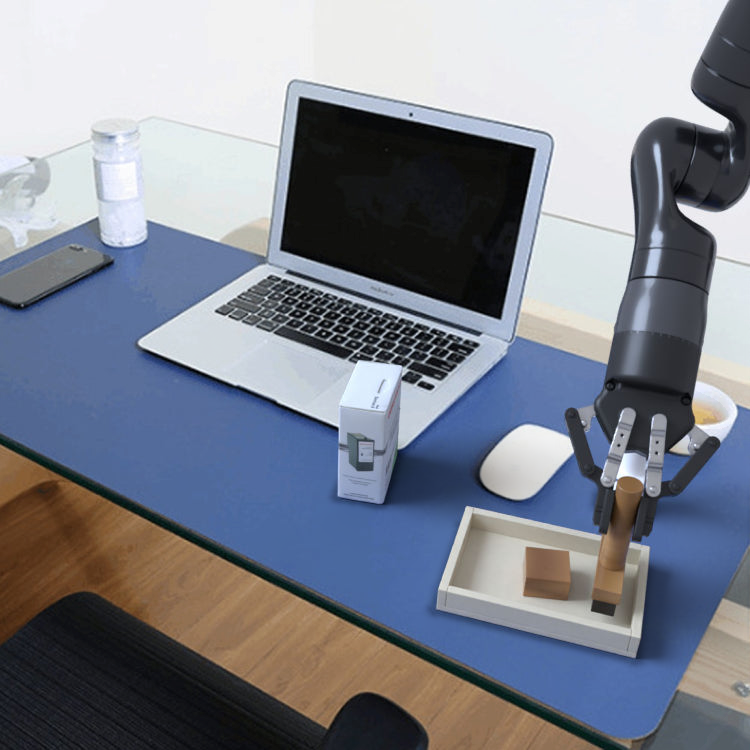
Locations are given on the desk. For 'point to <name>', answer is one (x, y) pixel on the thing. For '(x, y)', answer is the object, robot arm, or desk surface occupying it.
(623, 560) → the brush
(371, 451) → the ink box
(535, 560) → the brown block
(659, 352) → the robot arm
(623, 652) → the tray
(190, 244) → the desk surface
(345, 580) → the desk surface
